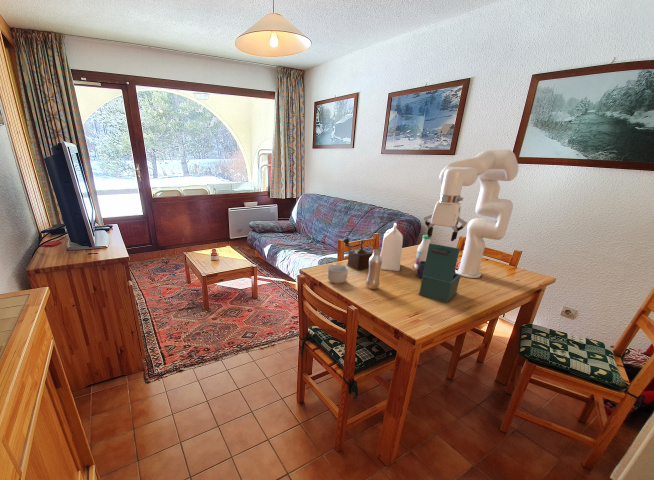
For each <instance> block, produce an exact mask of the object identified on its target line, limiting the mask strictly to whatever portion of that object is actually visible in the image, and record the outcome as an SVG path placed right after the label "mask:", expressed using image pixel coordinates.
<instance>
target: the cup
mask: <svg viewBox="0 0 654 480" xmlns="http://www.w3.org/2000/svg"><path fill="white" fill-rule="evenodd" d="M425 262H426V261H420V262H419V265H418V269H416V277H417V278H419V279H422V278H423V271H424V266H425Z"/></svg>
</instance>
